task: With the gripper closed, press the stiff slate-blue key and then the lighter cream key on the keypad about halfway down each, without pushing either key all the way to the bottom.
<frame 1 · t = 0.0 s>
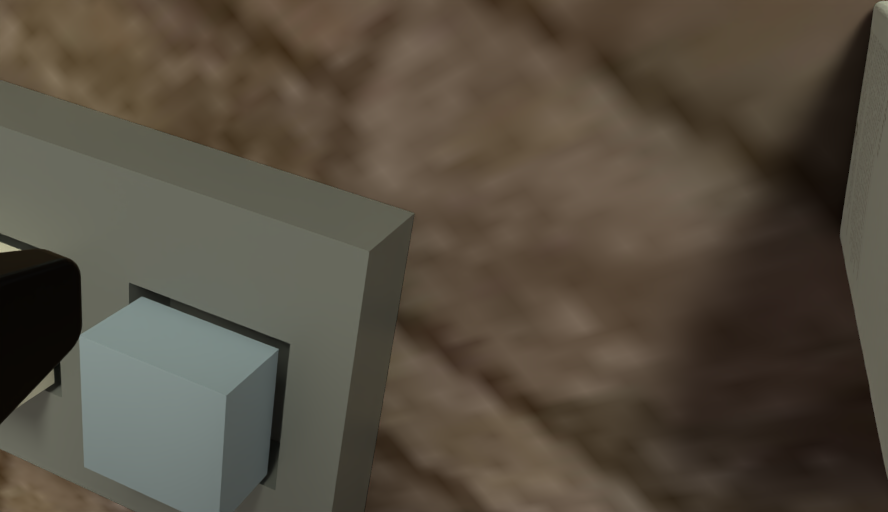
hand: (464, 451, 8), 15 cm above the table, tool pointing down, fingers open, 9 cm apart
keypad: (154, 304, 29), on the table
slate key: (179, 409, 25), point 4 cm above the table, slide at 0.0 cm
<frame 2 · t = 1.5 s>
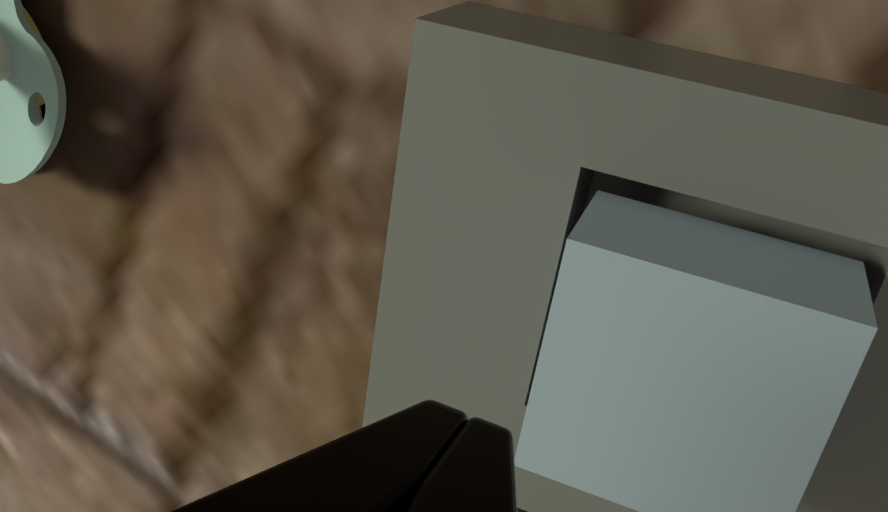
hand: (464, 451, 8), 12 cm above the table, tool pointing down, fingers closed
keypad: (653, 424, 21), on the table
pacifier: (4, 50, 24), on the table
slate key: (681, 367, 15), point 4 cm above the table, slide at 0.0 cm
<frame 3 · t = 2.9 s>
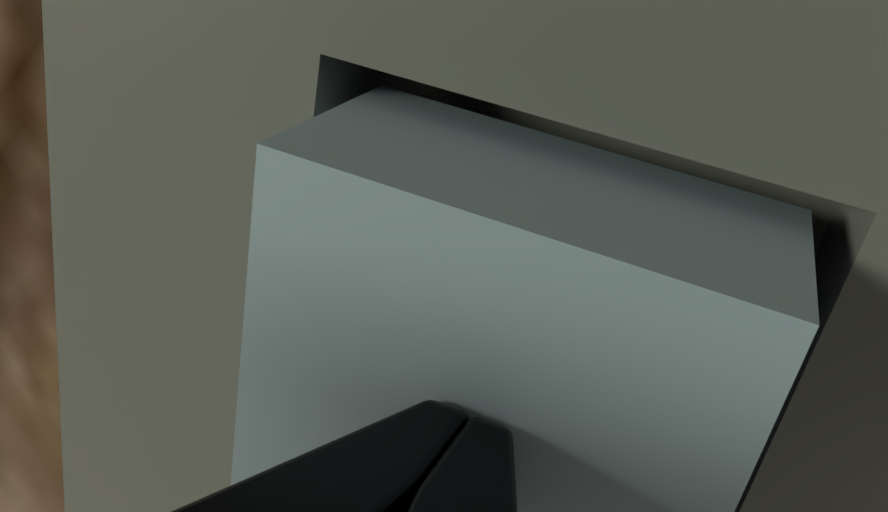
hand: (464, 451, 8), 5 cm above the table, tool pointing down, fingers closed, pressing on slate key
keypad: (510, 480, 14), on the table
slate key: (500, 383, 9), point 3 cm above the table, slide at 0.7 cm, touching gripper
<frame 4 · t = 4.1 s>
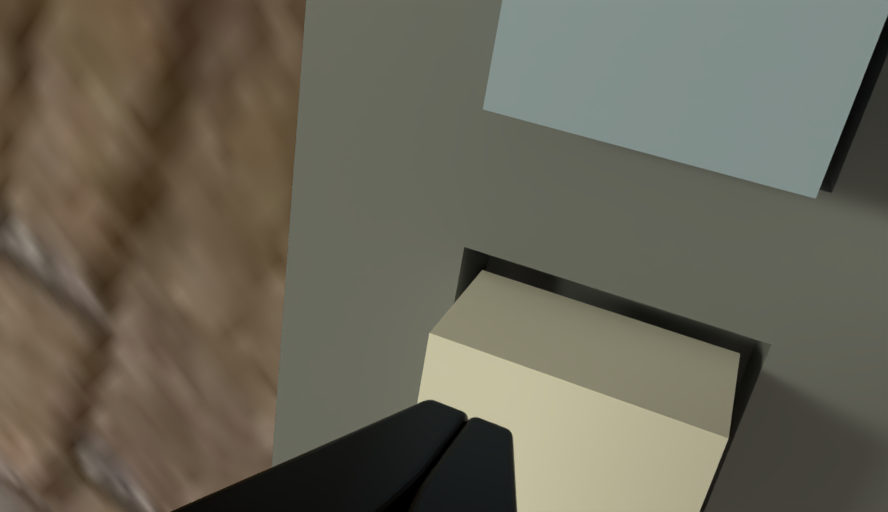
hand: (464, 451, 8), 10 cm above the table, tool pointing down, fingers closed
keypad: (656, 171, 17), on the table
cream key: (559, 453, 15), point 4 cm above the table, slide at 0.0 cm
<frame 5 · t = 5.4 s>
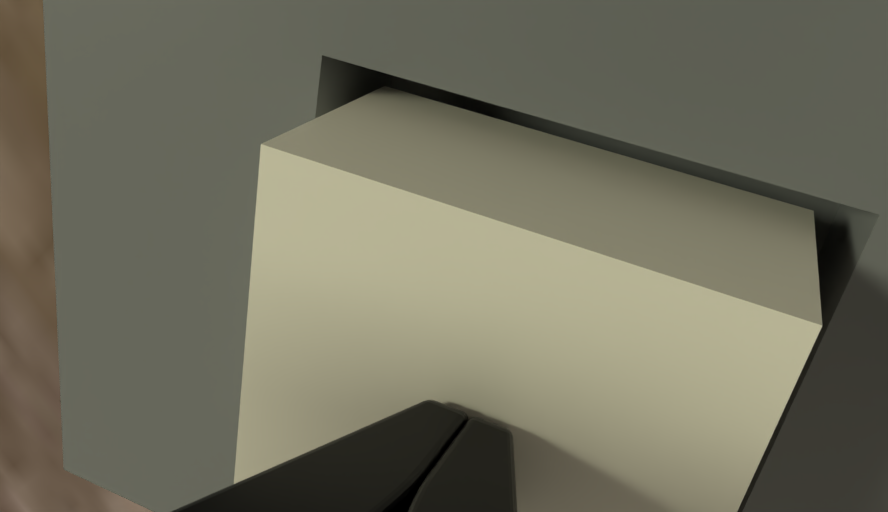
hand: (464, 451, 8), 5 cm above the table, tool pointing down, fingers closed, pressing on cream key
cream key: (502, 384, 9), point 3 cm above the table, slide at 0.7 cm, touching gripper
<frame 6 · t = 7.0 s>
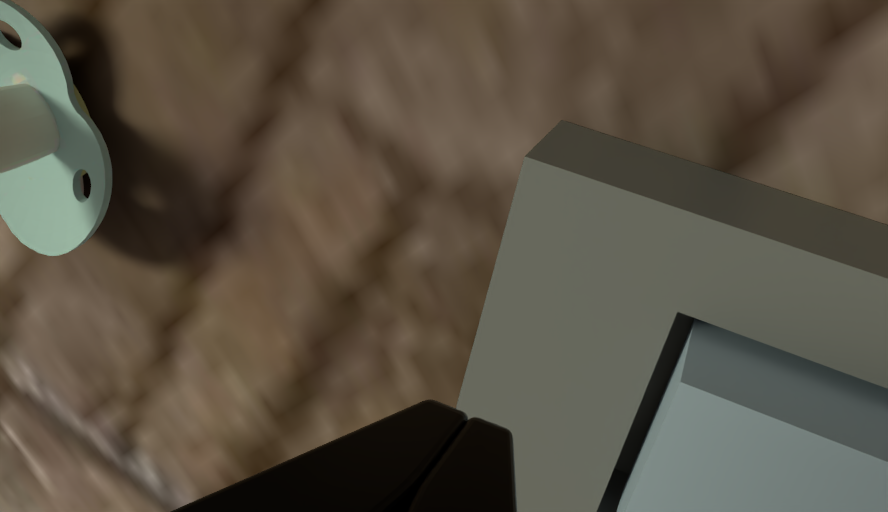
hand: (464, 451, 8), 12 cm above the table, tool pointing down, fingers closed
pacifier: (48, 118, 24), on the table
slate key: (766, 491, 16), point 3 cm above the table, slide at 0.7 cm
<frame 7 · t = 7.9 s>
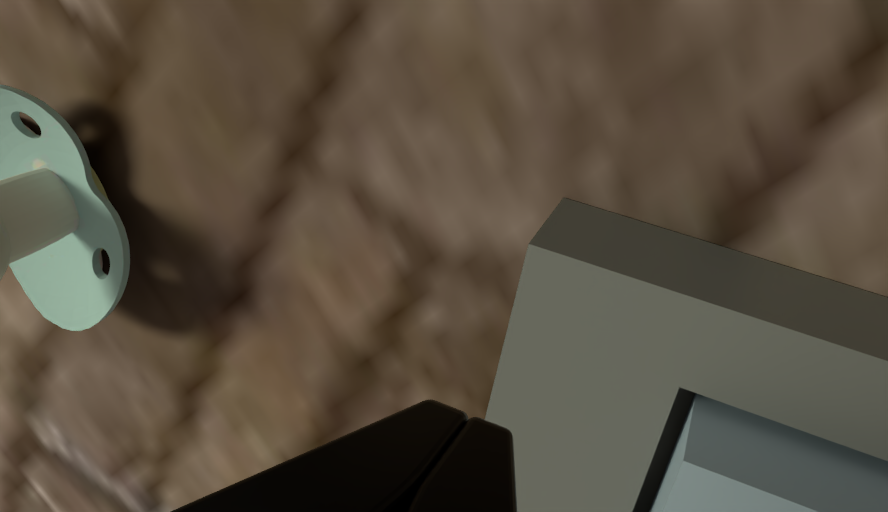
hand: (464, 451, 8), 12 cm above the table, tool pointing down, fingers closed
pacifier: (67, 196, 26), on the table
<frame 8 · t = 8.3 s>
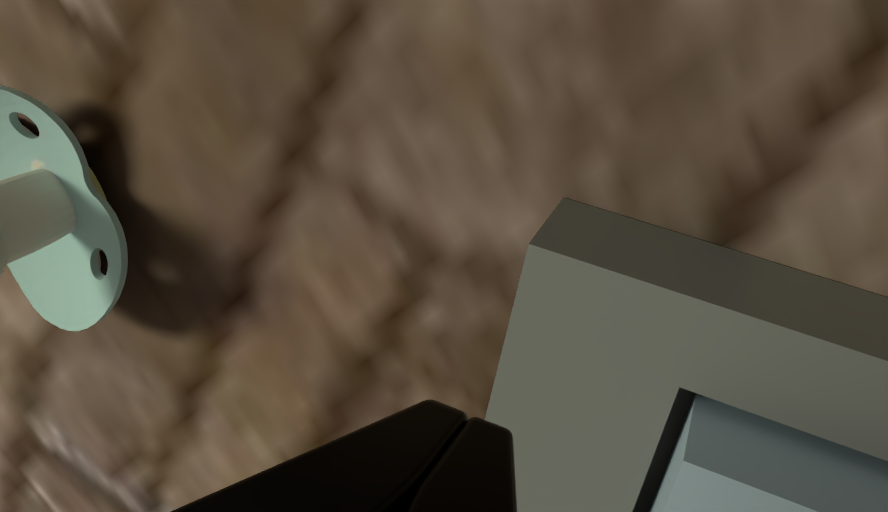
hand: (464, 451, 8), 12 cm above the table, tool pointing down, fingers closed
pacifier: (65, 196, 26), on the table
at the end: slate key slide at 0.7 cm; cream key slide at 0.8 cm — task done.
